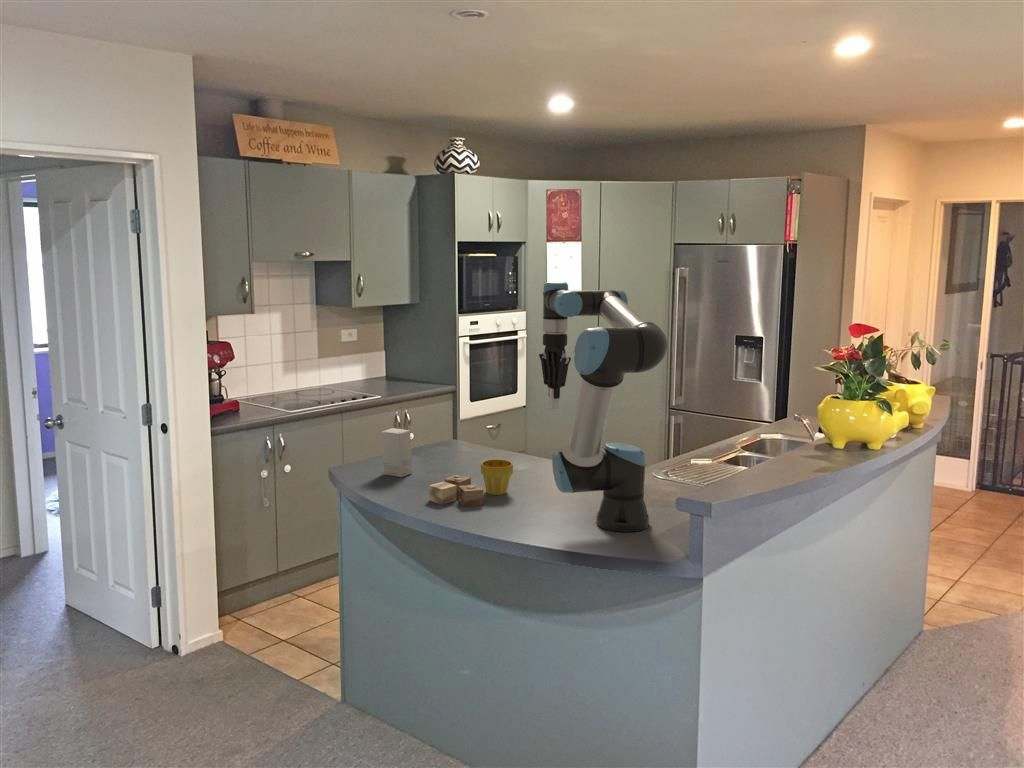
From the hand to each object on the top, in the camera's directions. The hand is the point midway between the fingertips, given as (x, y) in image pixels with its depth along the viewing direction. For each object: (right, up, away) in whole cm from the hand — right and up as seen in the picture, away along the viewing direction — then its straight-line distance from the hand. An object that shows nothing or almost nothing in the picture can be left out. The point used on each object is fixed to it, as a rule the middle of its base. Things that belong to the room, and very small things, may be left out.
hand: (553, 408), depth 266 cm
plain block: (-35, -29, +3) cm, 45 cm away
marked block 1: (-30, -28, +11) cm, 43 cm away
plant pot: (-18, -28, +12) cm, 35 cm away
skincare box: (-53, -24, +32) cm, 67 cm away
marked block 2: (-26, -29, +1) cm, 39 cm away
